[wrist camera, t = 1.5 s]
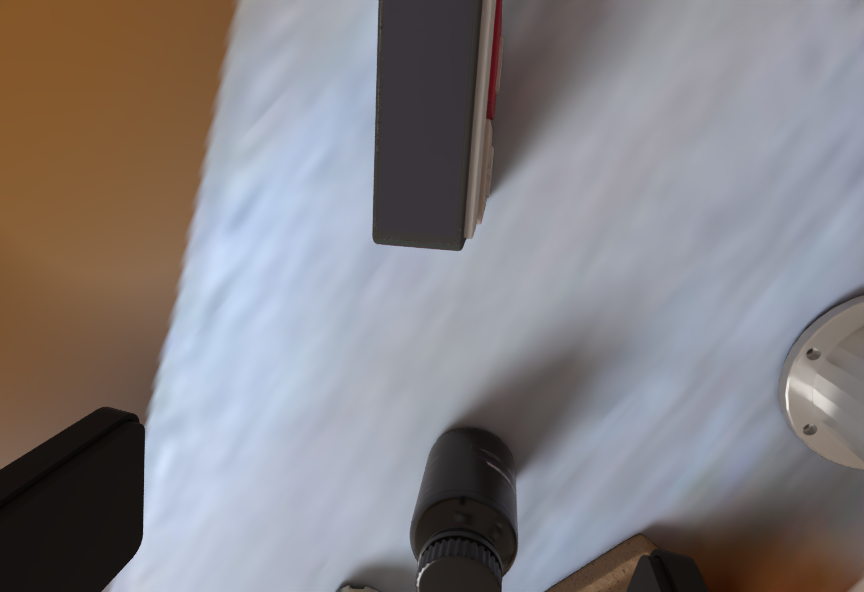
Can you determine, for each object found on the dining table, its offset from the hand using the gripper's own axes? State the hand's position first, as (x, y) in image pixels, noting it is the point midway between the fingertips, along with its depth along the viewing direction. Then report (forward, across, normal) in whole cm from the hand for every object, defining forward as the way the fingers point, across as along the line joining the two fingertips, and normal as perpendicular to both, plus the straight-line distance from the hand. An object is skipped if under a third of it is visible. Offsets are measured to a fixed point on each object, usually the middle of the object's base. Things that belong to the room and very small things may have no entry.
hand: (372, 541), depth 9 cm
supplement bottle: (+26, -4, +16) cm, 31 cm away
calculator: (+26, +2, -9) cm, 28 cm away
